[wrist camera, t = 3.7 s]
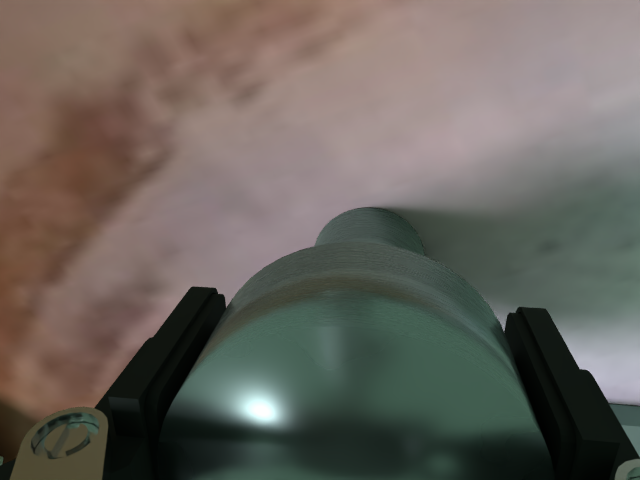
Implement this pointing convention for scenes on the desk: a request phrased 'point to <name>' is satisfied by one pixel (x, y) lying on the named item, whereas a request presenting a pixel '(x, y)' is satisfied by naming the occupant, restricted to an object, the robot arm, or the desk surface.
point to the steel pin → (355, 373)
